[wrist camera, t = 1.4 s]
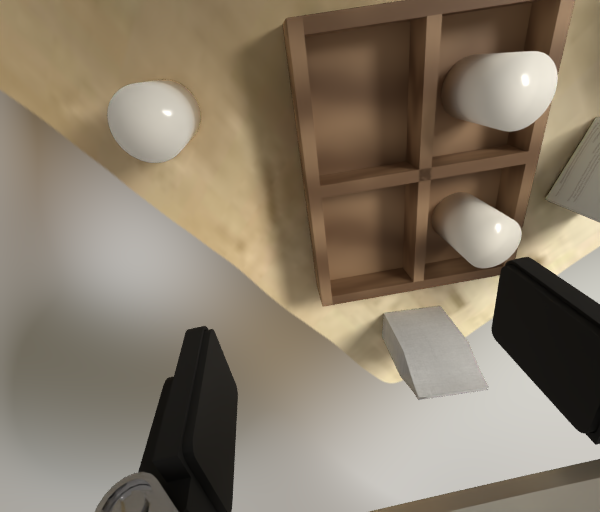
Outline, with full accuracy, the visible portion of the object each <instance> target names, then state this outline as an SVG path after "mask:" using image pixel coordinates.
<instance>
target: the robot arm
mask: <svg viewBox="0 0 600 512" xmlns="http://www.w3.org/2000/svg"><path fill="white" fill-rule="evenodd" d="M492 334H493V336H494V338H495V340H496V341H497V342H498V343H499V344H500V345H501V346H502V348H503V349H504V350H505V351H506V352H507V353H508V354H509V355H510V356H511V357H512V359H513V360H514V361H515V362H516V363H517V364H518V365H519V366H520V368H521V369H522V370H523V371H524V372H525V373H526V374H527V375H528V376H529V377H530V379H531V380H532V381H533V382H534V383H535V384H536V385H537V386H538V387H539V389H541V391H542V392H543V393H544V394H545V395H546V396H547V397H548V398H549V400H550V401H551V402H552V403H553V404H554V405H555V406H556V407H557V408H558V410H559V411H560V412H561V413H562V414H563V415H564V416H565V417H566V418H567V420H568V421H569V422H570V423H571V424H572V425H573V426H574V427H575V428H576V429H577V430H578V431H579V432H581V433H585V434H586V435H587V436H588V437H589V438H590V439H591V440H592V441H593V442H594V443H595V444H600V304H598V303H597V302H595V301H594V300H592V299H591V298H589V297H588V296H586V295H585V294H583V293H582V292H580V291H579V290H578V289H576V288H575V287H573V286H571V285H570V284H569V283H567V282H566V281H564V280H563V279H561V278H559V277H558V276H557V275H555V274H554V273H552V272H551V271H549V270H548V269H546V268H545V267H543V266H542V265H540V264H539V263H537V262H536V261H534V260H533V259H531V258H529V257H524V258H519V259H514V260H510V261H507V262H506V264H505V266H504V267H502V268H501V272H500V278H499V285H498V291H497V298H496V304H495V310H494V317H493V323H492ZM237 401H238V392H237V386H236V383H235V381H234V379H233V376H232V374H231V371H230V369H229V366H228V364H227V361H226V359H225V356H224V354H223V351H222V349H221V346H220V344H219V341H218V339H217V336H216V334H215V332H214V330H213V329H210V330H208V328H207V327H206V326H202V327H197V328H193V329H188V330H187V331H186V333H185V337H184V341H183V345H182V348H181V352H180V356H179V360H178V364H177V367H176V371H175V375H174V377H169V378H167V380H166V381H165V383H164V386H163V389H162V392H161V396H160V399H159V403H158V406H157V410H156V413H155V417H154V420H153V424H152V427H151V430H150V434H149V437H148V441H147V445H146V448H145V451H144V454H143V458H142V461H141V465H140V468H139V472H138V473H134V474H131V475H129V476H127V477H124V478H123V479H122V480H120V481H119V482H117V483H116V484H115V485H114V486H113V487H112V488H111V489H110V490H109V491H108V492H107V493H106V494H105V495H104V497H103V498H102V500H101V501H100V503H99V504H98V506H97V508H96V511H95V512H231V510H232V499H233V479H234V478H233V477H234V460H235V459H234V458H235V440H236V420H237ZM370 512H600V459H598V460H593V461H589V462H585V463H580V464H576V465H571V466H567V467H562V468H558V469H553V470H549V471H544V472H540V473H535V474H531V475H526V476H522V477H517V478H513V479H509V480H504V481H500V482H495V483H491V484H487V485H482V486H478V487H474V488H469V489H465V490H460V491H456V492H452V493H447V494H443V495H439V496H434V497H430V498H426V499H421V500H417V501H412V502H408V503H404V504H400V505H395V506H391V507H387V508H383V509H378V510H374V511H370Z"/></svg>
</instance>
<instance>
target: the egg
mask: <svg viewBox="0 0 600 512" xmlns="http://www.w3.org/2000/svg"><path fill="white" fill-rule="evenodd" d="M107 116H108V124H109V128H110V131H111V133H112V135H113V137H114V139H115V140H116V142H117V143H118V144H119V145H120V147H121V148H122V149H123V150H125V151H126V152H127V153H128V154H130V155H131V156H133V157H135V158H137V159H139V160H141V161H145V162H150V163H161V162H165V161H168V160H170V159H172V158H174V157H175V156H176V155H178V153H179V152H180V151H181V150H182V149H183V148H184V147H185V146H186V145H187V143H188V142H189V141H190V140H191V139H192V138H193V137H194V136H195V134H196V133H197V131H198V129H199V127H200V123H201V111H200V107H199V104H198V102H197V100H196V98H195V97H194V95H193V94H192V93H191V92H190V91H189V90H188V89H187V88H186V87H185V86H183V85H182V84H180V83H178V82H176V81H173V80H166V79H162V80H154V81H147V82H140V83H133V84H129V85H126V86H124V87H122V88H121V89H119V90H118V91H117V92H116V93H115V94H114V96H113V97H112V99H111V101H110V103H109V106H108V114H107Z"/></svg>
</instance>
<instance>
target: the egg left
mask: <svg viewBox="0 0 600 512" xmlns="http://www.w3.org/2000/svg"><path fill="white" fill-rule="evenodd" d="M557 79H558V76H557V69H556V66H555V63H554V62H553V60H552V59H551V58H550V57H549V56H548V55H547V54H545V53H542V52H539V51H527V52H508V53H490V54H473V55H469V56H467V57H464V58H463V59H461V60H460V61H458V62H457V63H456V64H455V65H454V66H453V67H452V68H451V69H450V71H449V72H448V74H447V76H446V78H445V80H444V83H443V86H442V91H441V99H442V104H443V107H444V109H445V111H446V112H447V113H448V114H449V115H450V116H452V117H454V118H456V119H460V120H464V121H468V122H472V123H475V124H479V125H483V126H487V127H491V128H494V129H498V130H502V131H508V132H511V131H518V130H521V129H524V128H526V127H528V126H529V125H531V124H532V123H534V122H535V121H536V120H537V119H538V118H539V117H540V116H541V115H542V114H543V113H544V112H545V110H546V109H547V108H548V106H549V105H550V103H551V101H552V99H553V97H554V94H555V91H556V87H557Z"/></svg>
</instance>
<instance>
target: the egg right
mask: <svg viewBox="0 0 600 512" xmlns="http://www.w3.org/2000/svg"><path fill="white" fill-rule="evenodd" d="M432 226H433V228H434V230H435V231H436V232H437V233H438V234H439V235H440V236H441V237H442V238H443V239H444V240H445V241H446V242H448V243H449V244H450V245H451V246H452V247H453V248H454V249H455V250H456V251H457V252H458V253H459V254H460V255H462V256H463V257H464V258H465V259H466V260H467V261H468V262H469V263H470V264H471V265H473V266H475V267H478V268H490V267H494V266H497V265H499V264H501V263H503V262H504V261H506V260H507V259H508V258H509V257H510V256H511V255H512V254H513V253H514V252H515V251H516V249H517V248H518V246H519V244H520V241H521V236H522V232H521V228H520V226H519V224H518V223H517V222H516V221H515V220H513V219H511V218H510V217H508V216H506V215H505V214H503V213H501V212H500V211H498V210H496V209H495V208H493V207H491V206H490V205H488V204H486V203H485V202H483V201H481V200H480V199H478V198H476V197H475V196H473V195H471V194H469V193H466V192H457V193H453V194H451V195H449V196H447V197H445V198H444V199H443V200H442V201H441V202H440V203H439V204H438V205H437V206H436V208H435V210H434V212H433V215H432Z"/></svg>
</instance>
